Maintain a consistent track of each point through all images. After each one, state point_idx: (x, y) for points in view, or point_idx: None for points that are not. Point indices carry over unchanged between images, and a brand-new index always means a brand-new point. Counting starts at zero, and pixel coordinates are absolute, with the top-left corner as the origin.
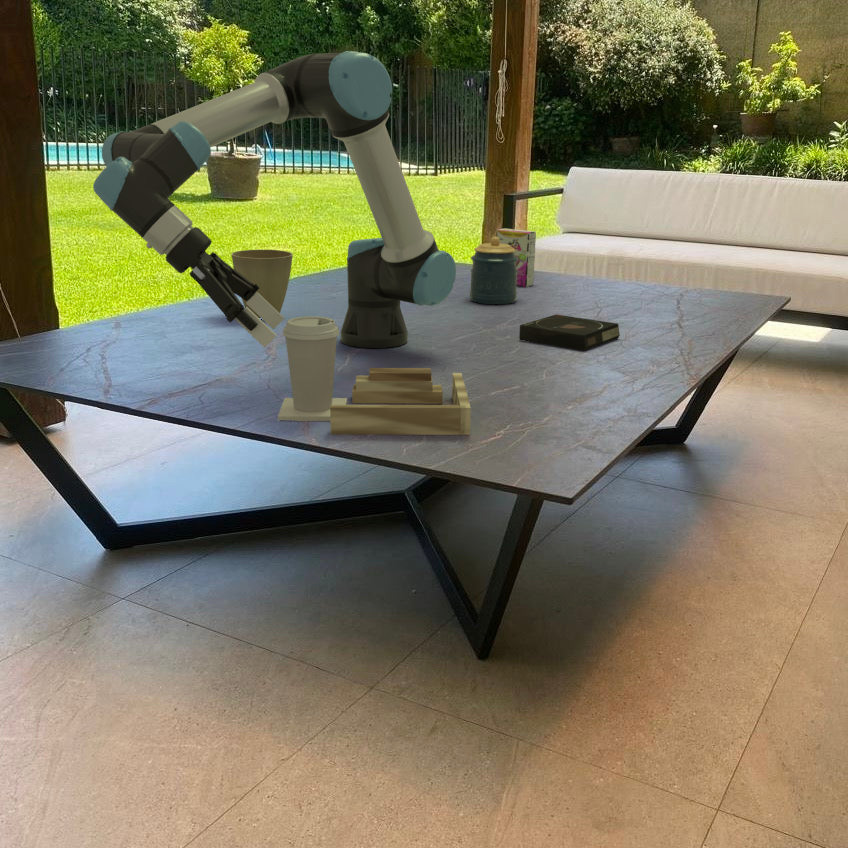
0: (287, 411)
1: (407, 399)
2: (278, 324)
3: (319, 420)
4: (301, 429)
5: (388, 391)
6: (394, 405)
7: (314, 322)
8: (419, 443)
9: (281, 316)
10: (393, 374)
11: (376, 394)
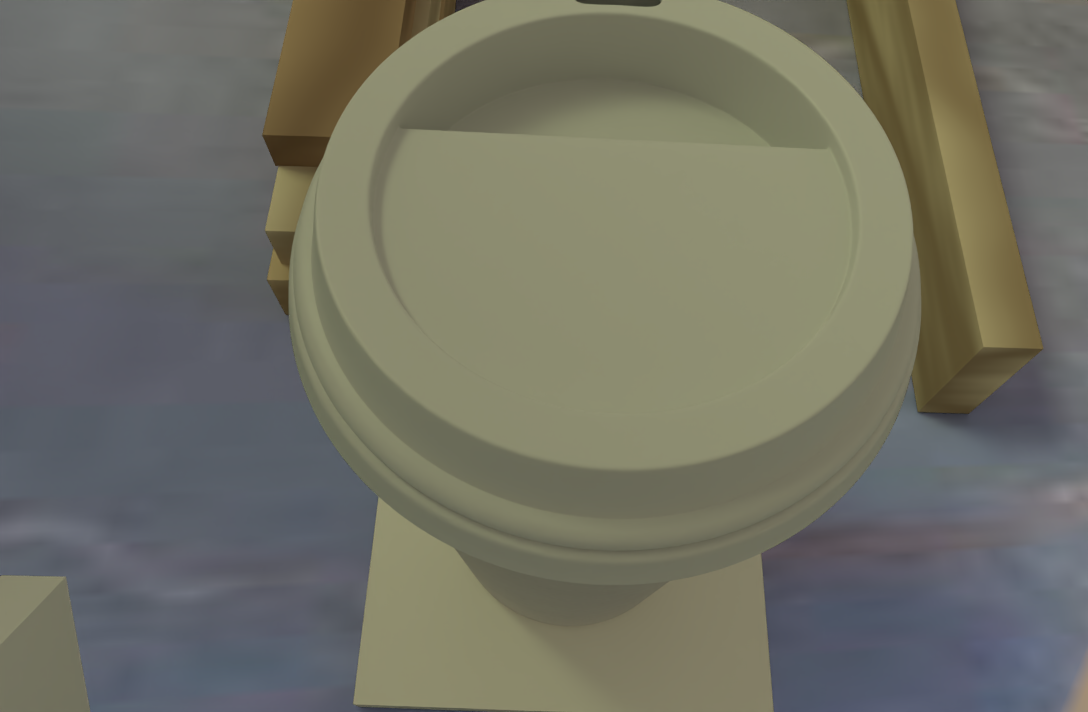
0: (668, 662)
1: None
2: (84, 679)
3: None
4: (908, 567)
5: None
6: (930, 64)
7: (591, 165)
8: (1010, 81)
9: (36, 611)
10: (402, 38)
11: None
